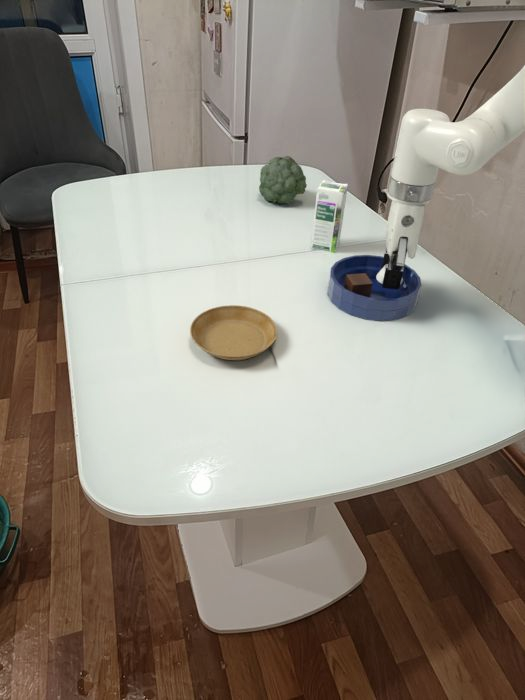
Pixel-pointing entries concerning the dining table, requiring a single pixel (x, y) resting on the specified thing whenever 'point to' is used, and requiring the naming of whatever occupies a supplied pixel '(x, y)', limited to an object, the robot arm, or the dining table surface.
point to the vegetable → (281, 180)
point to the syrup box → (328, 216)
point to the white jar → (381, 274)
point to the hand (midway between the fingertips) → (389, 279)
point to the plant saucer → (233, 332)
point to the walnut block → (359, 284)
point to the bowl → (373, 290)
